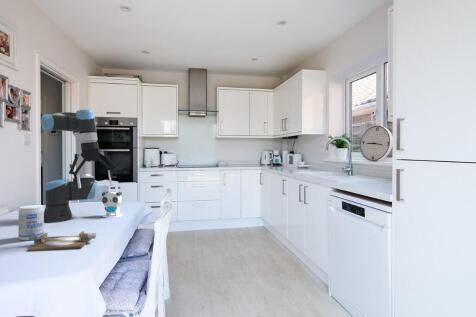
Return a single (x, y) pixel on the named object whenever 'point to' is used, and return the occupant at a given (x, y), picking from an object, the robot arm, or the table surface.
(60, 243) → the shaft board
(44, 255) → the table surface
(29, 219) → the supplement tub
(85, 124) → the robot arm
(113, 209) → the panda figurine
